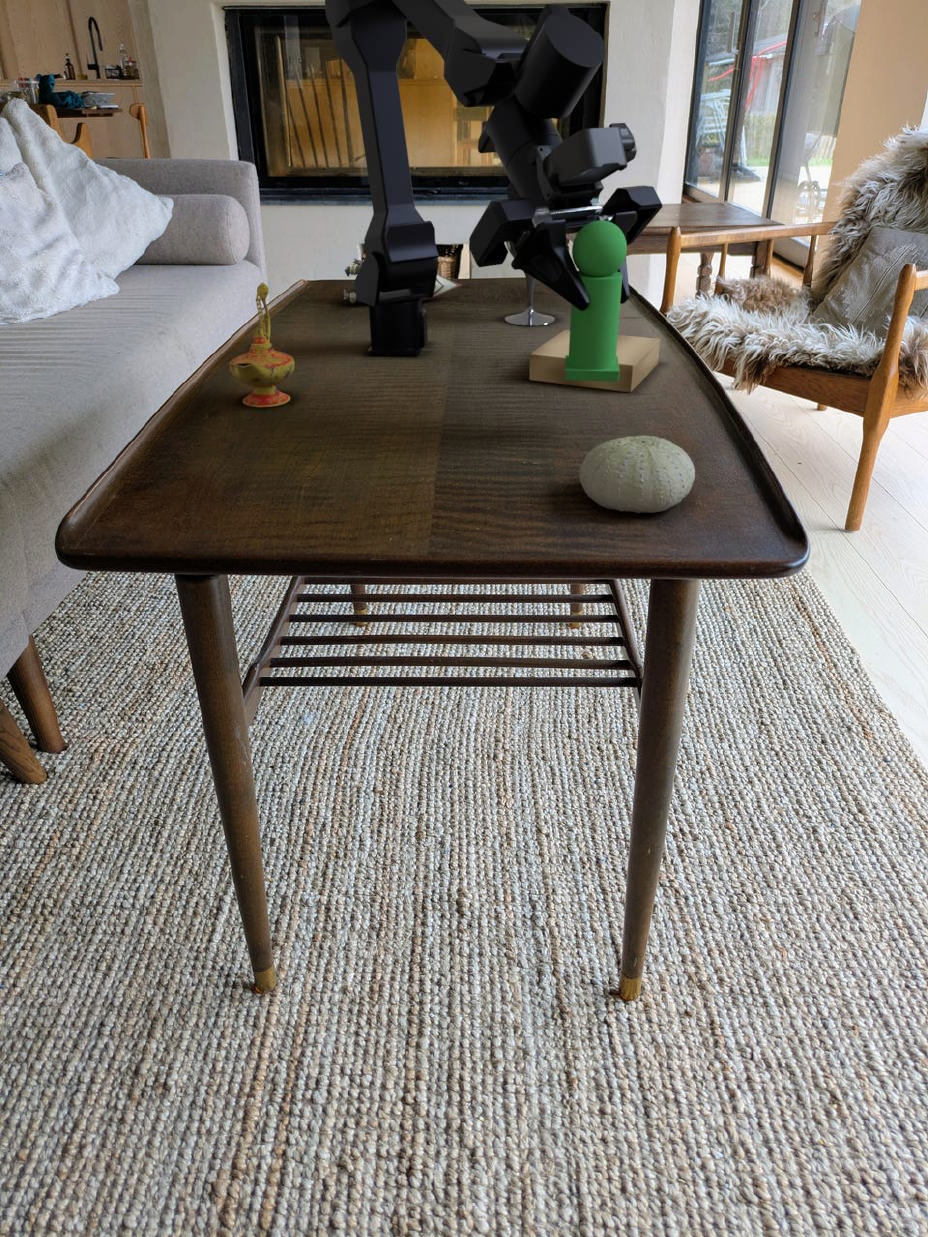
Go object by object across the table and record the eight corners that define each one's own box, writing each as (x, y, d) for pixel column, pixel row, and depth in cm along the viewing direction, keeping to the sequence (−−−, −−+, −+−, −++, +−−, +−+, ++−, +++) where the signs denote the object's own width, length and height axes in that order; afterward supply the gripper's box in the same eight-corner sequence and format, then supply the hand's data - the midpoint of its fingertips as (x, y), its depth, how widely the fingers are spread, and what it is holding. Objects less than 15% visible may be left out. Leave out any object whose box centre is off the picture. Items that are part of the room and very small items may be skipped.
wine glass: (567, 316, 129) (573, 202, 121) (541, 328, 123) (545, 209, 116) (519, 310, 133) (521, 198, 125) (491, 321, 127) (492, 205, 119)
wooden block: (529, 380, 104) (529, 353, 102) (563, 353, 113) (564, 329, 111) (630, 392, 99) (633, 365, 98) (658, 363, 109) (660, 338, 107)
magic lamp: (216, 434, 89) (197, 320, 84) (246, 380, 105) (232, 281, 99) (285, 433, 89) (272, 319, 84) (305, 379, 105) (295, 279, 99)
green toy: (564, 380, 84) (572, 224, 77) (565, 365, 88) (572, 216, 81) (618, 381, 83) (631, 225, 76) (616, 366, 87) (628, 216, 80)
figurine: (368, 250, 147) (470, 254, 144) (369, 290, 150) (469, 294, 147) (328, 265, 129) (442, 270, 126) (330, 309, 132) (442, 315, 129)
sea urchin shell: (560, 457, 78) (630, 390, 75) (618, 513, 81) (687, 451, 79) (581, 500, 70) (660, 427, 67) (644, 560, 73) (722, 493, 71)
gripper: (488, 90, 72) (569, 258, 70) (659, 85, 80) (735, 234, 78) (437, 189, 81) (507, 339, 79) (594, 175, 90) (661, 310, 88)
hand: (605, 304), depth 81 cm, fingers closed on green toy, 4 cm apart
